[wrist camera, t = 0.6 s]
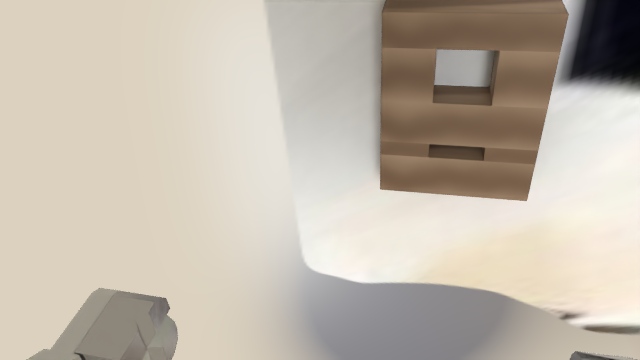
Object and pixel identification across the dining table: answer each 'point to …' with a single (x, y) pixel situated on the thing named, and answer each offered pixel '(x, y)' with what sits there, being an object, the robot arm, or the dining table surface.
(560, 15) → the wooden slotted board
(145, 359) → the robot arm
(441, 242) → the dining table surface
